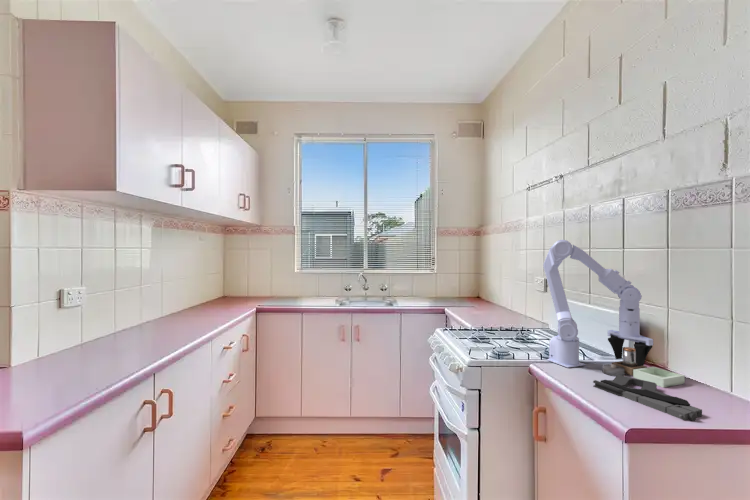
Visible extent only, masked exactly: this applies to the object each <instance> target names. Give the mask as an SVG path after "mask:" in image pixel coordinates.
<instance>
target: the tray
mask: <svg viewBox="0 0 750 500" xmlns="http://www.w3.org/2000/svg"><path fill="white" fill-rule="evenodd" d="M632 376H633V377H632V378H635V379H640V380H644V381H649V382H653V383H656V384H657V386H658V387H659V388H668V387H673V386H674V387H675V386H679V385H684V384H685V374H680V373H677V372H673V371H669V370H668V369H667V370H666V369H663V368H661V367H656V366H649V367H648V366H647V368H641V369H634V370H633V375H632Z"/></svg>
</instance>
